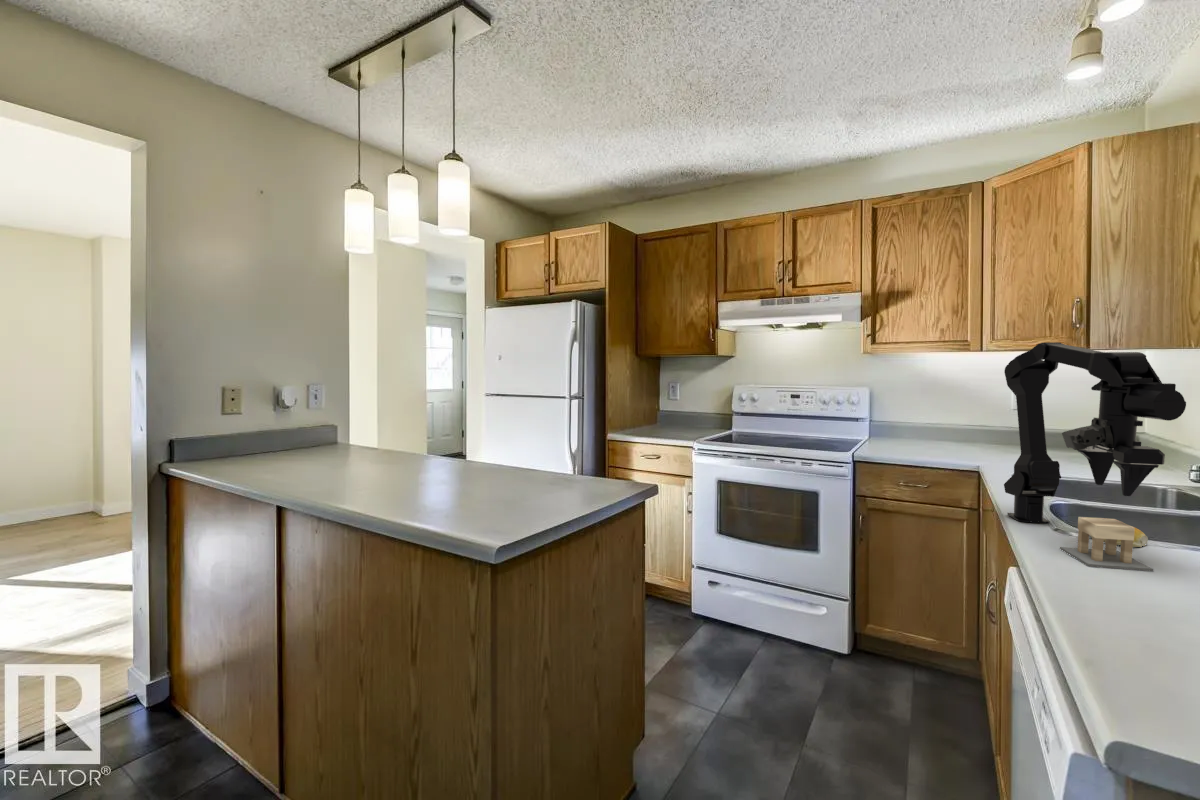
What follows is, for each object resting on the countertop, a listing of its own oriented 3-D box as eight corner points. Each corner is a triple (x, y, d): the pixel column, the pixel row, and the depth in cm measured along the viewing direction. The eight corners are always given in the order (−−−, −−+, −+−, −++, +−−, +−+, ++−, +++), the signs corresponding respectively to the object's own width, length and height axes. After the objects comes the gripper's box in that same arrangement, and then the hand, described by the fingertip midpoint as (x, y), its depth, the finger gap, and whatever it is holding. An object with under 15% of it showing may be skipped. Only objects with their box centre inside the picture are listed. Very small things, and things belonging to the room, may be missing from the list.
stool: (1076, 550, 111) (1078, 516, 110) (1112, 553, 109) (1114, 518, 109) (1094, 561, 105) (1096, 525, 105) (1132, 563, 104) (1134, 527, 103)
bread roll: (1098, 533, 124) (1099, 516, 124) (1152, 545, 116) (1153, 526, 116) (1080, 539, 120) (1081, 521, 120) (1134, 551, 112) (1135, 532, 112)
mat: (1059, 549, 113) (1059, 546, 113) (1118, 553, 111) (1118, 550, 111) (1088, 566, 104) (1088, 564, 104) (1153, 571, 101) (1153, 568, 101)
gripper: (1047, 408, 121) (1043, 477, 123) (1095, 418, 104) (1090, 499, 105) (1108, 409, 118) (1103, 480, 119) (1169, 420, 100) (1162, 503, 102)
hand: (1112, 490), depth 111 cm, fingers open, 9 cm apart
